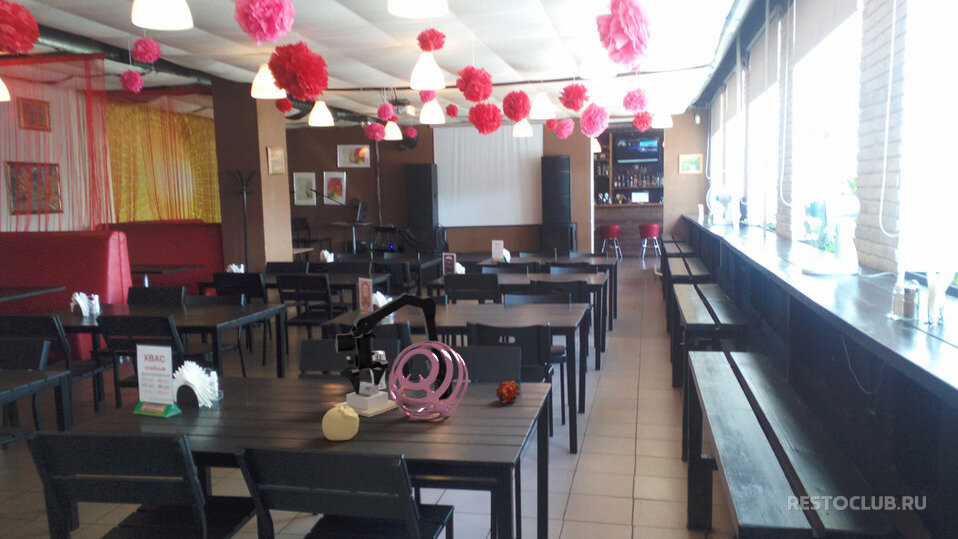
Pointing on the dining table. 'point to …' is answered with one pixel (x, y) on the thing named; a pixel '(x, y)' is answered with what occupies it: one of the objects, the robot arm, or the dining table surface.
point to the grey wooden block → (368, 389)
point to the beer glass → (382, 382)
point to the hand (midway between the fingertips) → (366, 390)
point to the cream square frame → (369, 403)
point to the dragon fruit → (508, 391)
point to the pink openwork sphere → (427, 382)
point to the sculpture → (340, 423)
